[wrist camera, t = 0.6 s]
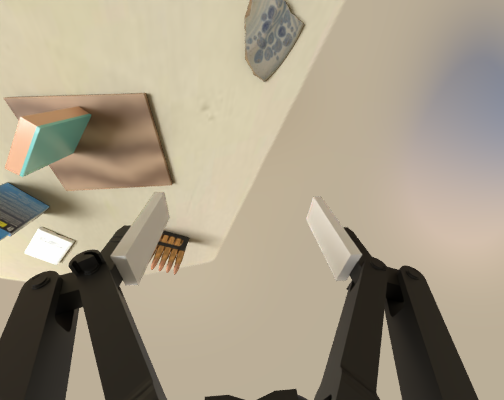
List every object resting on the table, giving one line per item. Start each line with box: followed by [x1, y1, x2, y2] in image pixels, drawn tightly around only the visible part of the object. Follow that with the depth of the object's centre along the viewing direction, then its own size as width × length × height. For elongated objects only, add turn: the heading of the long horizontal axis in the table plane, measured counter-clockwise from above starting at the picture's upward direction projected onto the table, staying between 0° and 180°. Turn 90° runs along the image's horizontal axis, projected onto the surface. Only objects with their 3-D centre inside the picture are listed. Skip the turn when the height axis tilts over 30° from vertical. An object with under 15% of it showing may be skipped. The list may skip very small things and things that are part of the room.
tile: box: [5, 106, 91, 177], centre depth 31 cm, size 2×10×11 cm, turn 136°
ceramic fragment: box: [245, 0, 304, 81], centre depth 31 cm, size 11×3×10 cm
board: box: [4, 93, 172, 191], centre depth 39 cm, size 19×24×1 cm
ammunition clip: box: [148, 231, 189, 274], centre depth 49 cm, size 11×2×12 cm, turn 64°
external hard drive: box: [24, 227, 75, 265], centre depth 53 cm, size 2×8×12 cm
